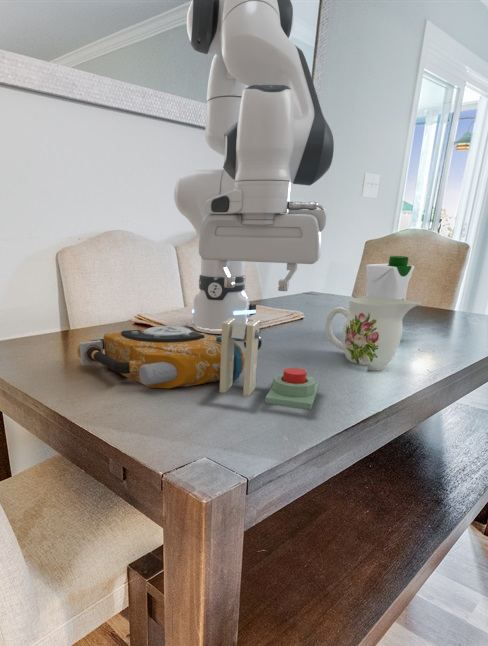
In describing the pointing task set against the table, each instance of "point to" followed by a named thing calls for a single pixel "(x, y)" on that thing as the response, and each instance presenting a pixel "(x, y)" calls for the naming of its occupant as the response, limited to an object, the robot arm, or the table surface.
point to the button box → (292, 393)
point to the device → (161, 356)
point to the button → (294, 375)
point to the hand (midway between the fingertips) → (255, 289)
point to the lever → (242, 334)
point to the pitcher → (370, 329)
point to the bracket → (228, 356)
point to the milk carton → (389, 278)
